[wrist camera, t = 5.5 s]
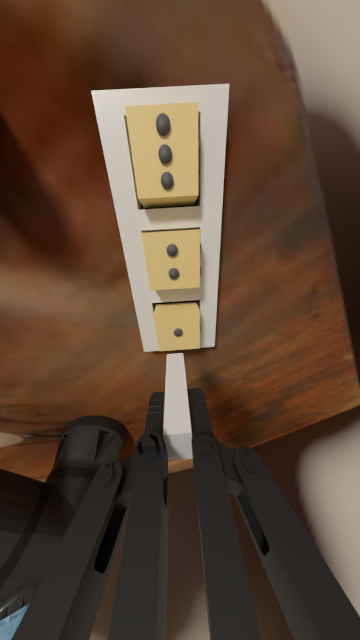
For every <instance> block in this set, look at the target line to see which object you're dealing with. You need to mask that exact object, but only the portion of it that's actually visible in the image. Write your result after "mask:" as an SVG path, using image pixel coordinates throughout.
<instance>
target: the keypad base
mask: <svg viewBox="0 0 360 640" xmlns="http://www.w3.org/2000/svg"><path fill="white" fill-rule="evenodd" d="M91 93H92V98H93V103H94V108H95V113H96V117H97V122H98V127H99V132H100V137H101V142H102V147H103V152H104V157H105V162H106V167H107V171H108V176H109V181H110V186H111V191H112V196H113V201H114V206H115V211H116V216H117V221H118V226H119V230H120V235H121V240H122V245H123V250H124V255H125V260H126V265H127V270H128V275H129V280H130V284H131V289H132V294H133V299H134V304H135V309H136V314H137V319H138V324H139V329H140V334H141V339H142V343H143V348H144V352H148V351H159V348H158V341H157V334H156V328H155V321H154V310H155V303H162V302H177V301H191V300H198V307H199V310H200V325H201V332H200V348H204V347H215V331H216V313H217V295H218V277H219V259H220V241H221V223H222V205H223V187H224V169H225V151H226V133H227V115H228V97H229V84H215V85H195V86H176V87H156V88H136V89H117V90H97V91H91ZM192 102H198V120H200V137H199V141H198V149H200V164H199V167H198V175H200V188H199V191H198V197H197V206H192V207H176V208H159V209H143V210H142V209H141V202H140V201H139V199H138V194H137V187H136V180H135V173H134V167H133V160H132V153H131V146H130V139H129V132H128V125H127V118H126V111H125V106H134V105H153V104H173V103H192ZM194 229H200V244H201V254H200V266H201V276H200V287H199V288H184V289H169V290H154V291H150V287H149V281H148V274H147V267H146V260H145V254H144V247H143V240H142V234H141V233H146V232H162V231H178V230H194Z"/></svg>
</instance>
